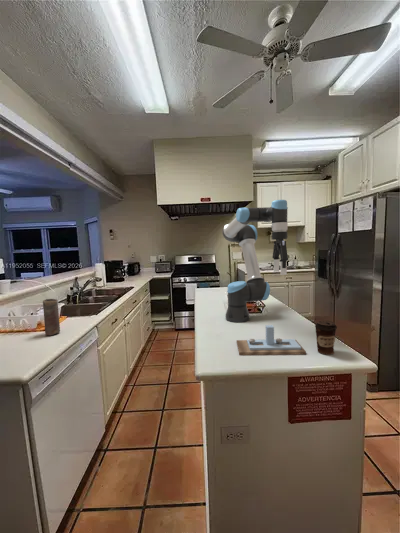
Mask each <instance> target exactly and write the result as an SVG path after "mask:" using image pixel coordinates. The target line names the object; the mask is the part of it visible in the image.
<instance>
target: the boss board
mask: <svg viewBox="0 0 400 533" xmlns="http://www.w3.org/2000/svg"><path fill="white" fill-rule="evenodd" d="M247 340H249V342H250V343H251V345H253V343H255V340H256V339H255V338H249V339H244V340H243V339H241V340H240V339H238V340H236V346H237V350H238V354H239V356H269V355H271V356H272V355H273V356H275V355H276V356H278V355H280V356H281V355H283V356H284V355H285V356H286V355H288V356H289V355H293V356H294V355H306V354H307V352H306V350H305V349H304V348H303V346H302V345H301V344H300V343H299V342H298V340H297V339H295V341H296V342H297V343H298V344H299V345H300V346H301V350H250V349H249V346H248V343H247ZM276 342H277V343H278V344H280V343H282V338H276ZM255 345H263V344H255ZM283 345H290V344H283Z"/></svg>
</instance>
